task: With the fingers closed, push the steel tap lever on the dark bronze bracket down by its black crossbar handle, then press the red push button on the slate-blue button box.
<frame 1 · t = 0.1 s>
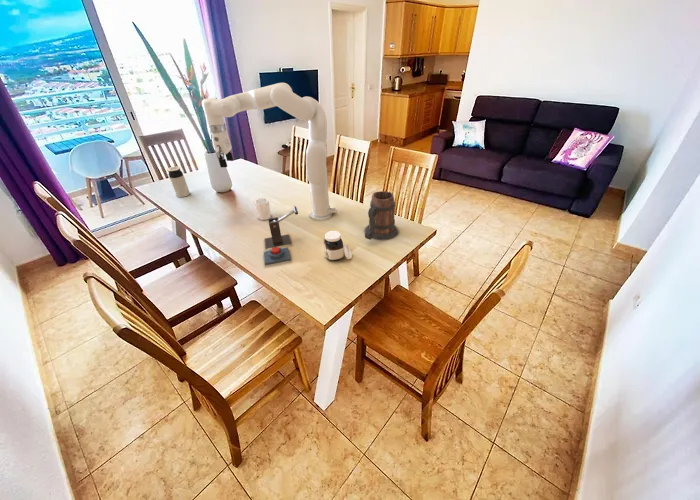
hand: (227, 163, 149), 31 cm above the table, tool pointing down, fingers open, 9 cm apart
button box: (277, 258, 135), on the table
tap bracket: (277, 243, 145), on the table
spread jar: (338, 256, 135), on the table
travel mug: (183, 195, 195), on the table
white cup: (265, 217, 167), on the table
tap lever: (284, 217, 139), point 13 cm above the table, hinge at 25.0°
tankard: (378, 234, 150), on the table
red push button: (275, 250, 132), point 4 cm above the table, slide at 0.1 cm
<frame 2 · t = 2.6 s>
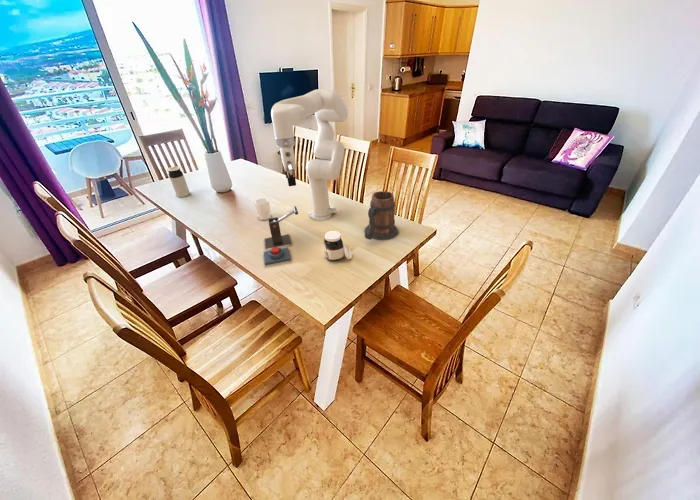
hand: (291, 181, 130), 30 cm above the table, tool pointing down, fingers open, 9 cm apart
nothing on the table moved.
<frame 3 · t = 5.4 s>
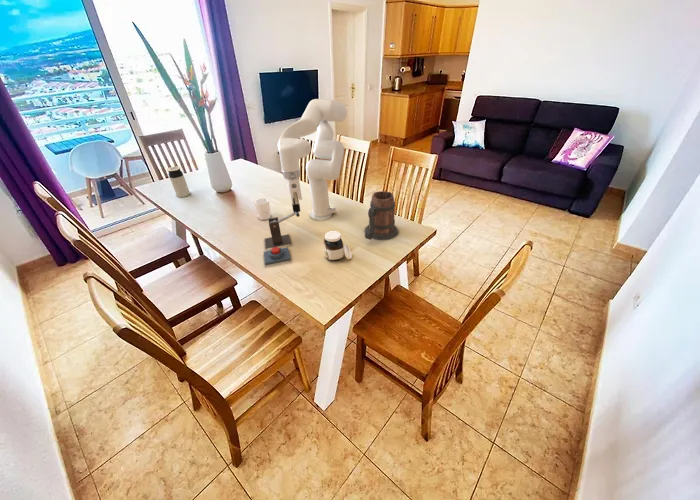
hand: (296, 211, 138), 16 cm above the table, tool pointing down, fingers closed
tap lever: (284, 218, 139), point 13 cm above the table, hinge at 18.8°
everything else where it was.
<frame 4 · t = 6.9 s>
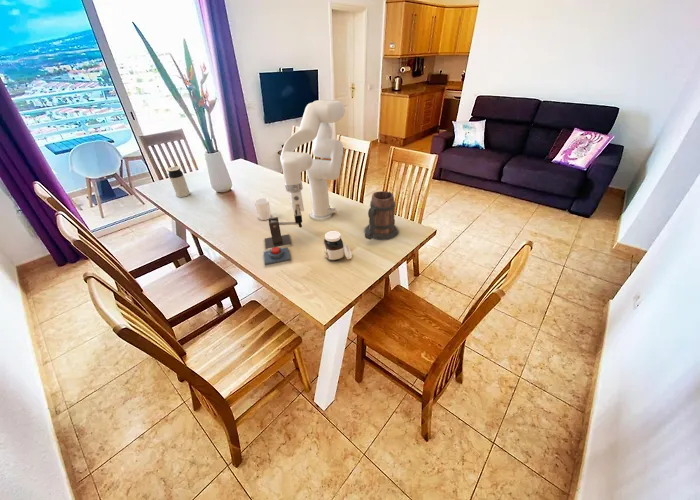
hand: (298, 222, 142), 10 cm above the table, tool pointing down, fingers closed
tap lever: (286, 223, 141), point 10 cm above the table, hinge at -9.7°, touching gripper
everything else where it was.
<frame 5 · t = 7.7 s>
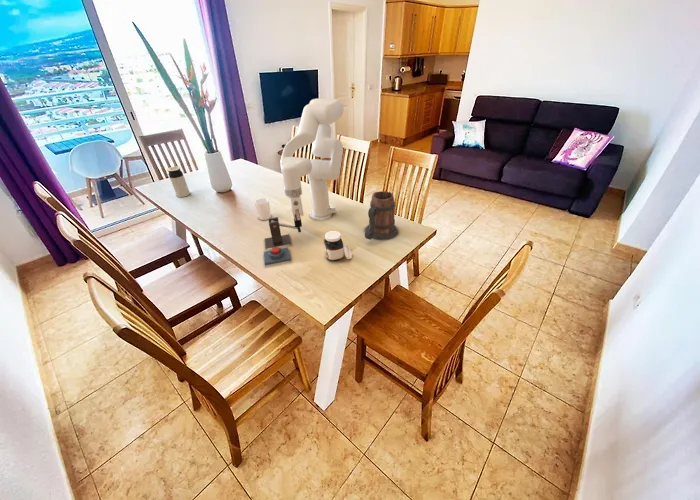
hand: (298, 226, 143), 7 cm above the table, tool pointing down, fingers closed
tap lever: (285, 225, 141), point 9 cm above the table, hinge at -22.6°, touching gripper
everything else where it was.
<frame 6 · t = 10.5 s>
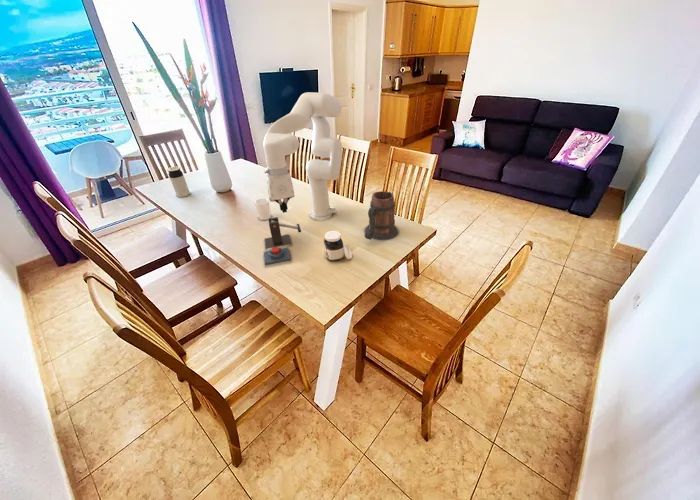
hand: (284, 211, 130), 20 cm above the table, tool pointing down, fingers closed
tap lever: (285, 225, 141), point 9 cm above the table, hinge at -22.6°
everything else where it was.
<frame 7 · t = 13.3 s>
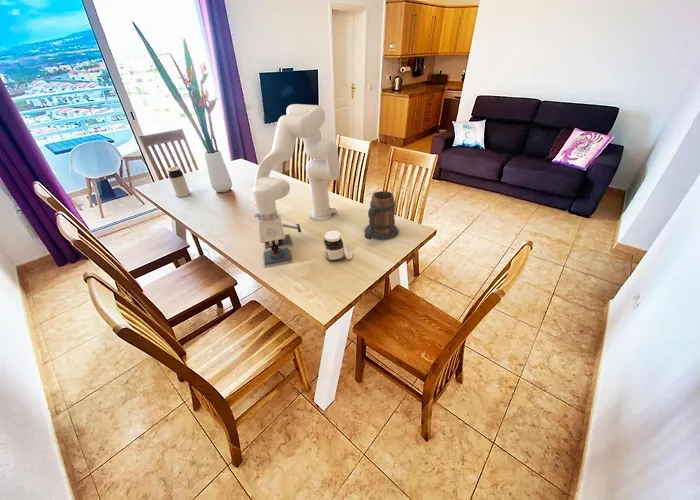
hand: (275, 251, 132), 4 cm above the table, tool pointing down, fingers closed
red push button: (276, 252, 132), point 4 cm above the table, slide at -0.9 cm, touching gripper
everything else where it was.
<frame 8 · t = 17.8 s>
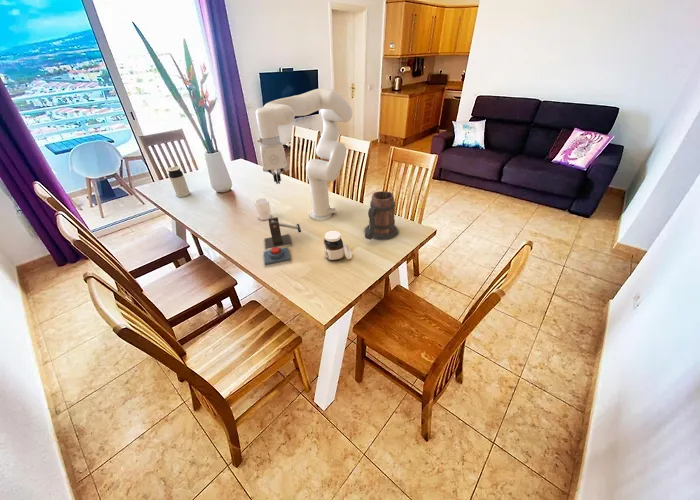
hand: (277, 182, 132), 29 cm above the table, tool pointing down, fingers closed
red push button: (275, 250, 132), point 4 cm above the table, slide at 0.1 cm
everything else where it was.
at the end: tap lever at -23° (first picture: +25°); red push button pushed in 1.1 cm at the most during the clip, back to where it started at the end; red push button slide at 0.1 cm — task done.
